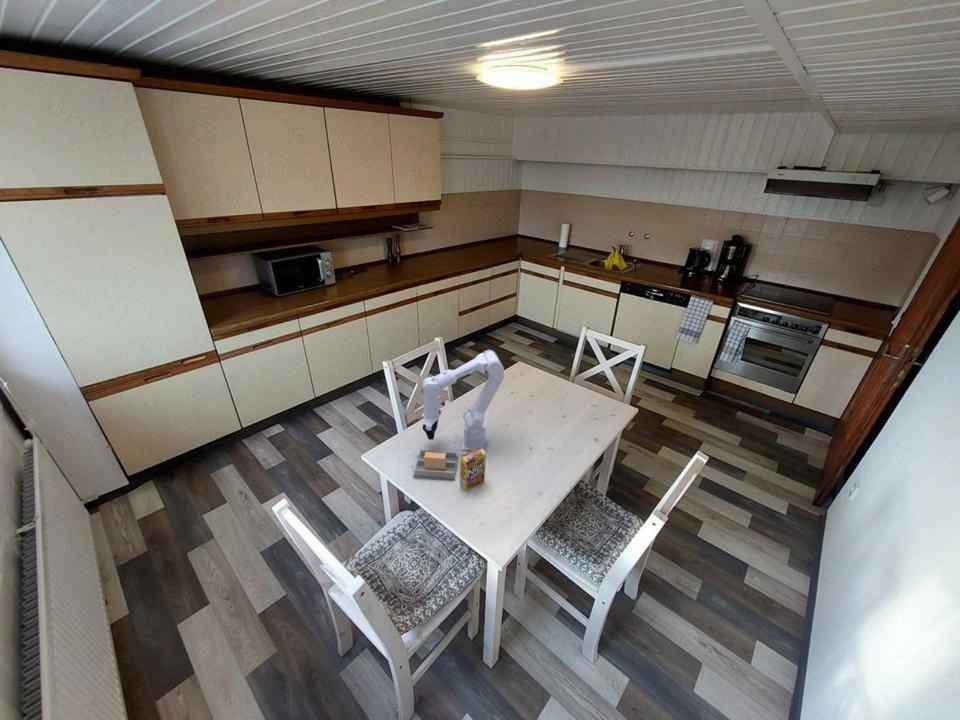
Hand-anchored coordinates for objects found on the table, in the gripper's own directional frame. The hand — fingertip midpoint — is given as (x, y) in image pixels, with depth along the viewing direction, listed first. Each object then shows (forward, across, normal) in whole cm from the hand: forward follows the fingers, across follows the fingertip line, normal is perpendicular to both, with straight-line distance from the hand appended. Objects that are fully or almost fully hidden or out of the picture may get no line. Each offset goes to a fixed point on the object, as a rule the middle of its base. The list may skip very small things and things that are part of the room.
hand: (432, 432), depth 159 cm
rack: (+9, +10, +3) cm, 14 cm away
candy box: (+10, +17, +18) cm, 27 cm away
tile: (+8, +13, +3) cm, 15 cm away
